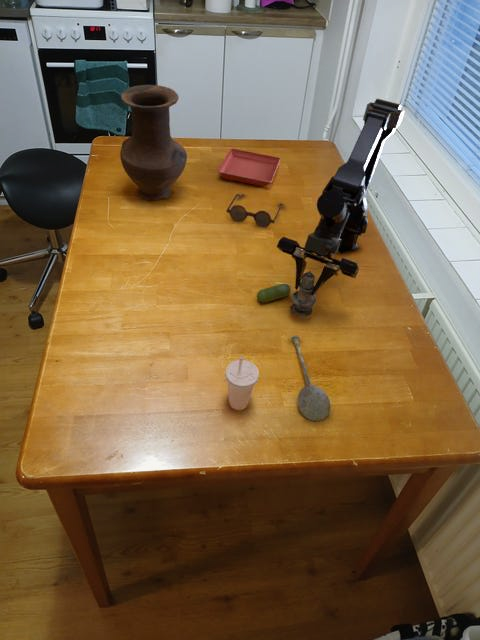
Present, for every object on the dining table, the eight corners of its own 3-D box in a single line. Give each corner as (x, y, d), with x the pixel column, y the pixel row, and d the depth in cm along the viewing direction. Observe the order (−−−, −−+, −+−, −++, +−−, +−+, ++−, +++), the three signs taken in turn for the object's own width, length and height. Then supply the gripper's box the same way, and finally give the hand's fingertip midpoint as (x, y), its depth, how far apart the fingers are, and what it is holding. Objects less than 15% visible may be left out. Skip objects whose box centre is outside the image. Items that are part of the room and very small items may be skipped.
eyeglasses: (225, 219, 145) (226, 204, 141) (240, 194, 155) (241, 180, 152) (273, 230, 143) (275, 215, 139) (284, 205, 153) (286, 190, 149)
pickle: (285, 289, 125) (287, 279, 122) (292, 297, 123) (294, 287, 120) (253, 298, 121) (255, 288, 119) (260, 306, 119) (261, 296, 117)
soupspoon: (299, 424, 97) (331, 423, 98) (303, 415, 94) (335, 414, 96) (280, 340, 112) (308, 339, 113) (283, 330, 109) (311, 330, 110)
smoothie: (221, 389, 101) (225, 344, 91) (252, 389, 101) (259, 344, 91) (223, 416, 96) (227, 371, 86) (255, 415, 97) (263, 371, 87)
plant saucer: (279, 165, 171) (281, 156, 168) (270, 191, 158) (271, 181, 156) (229, 156, 173) (230, 147, 170) (216, 180, 160) (217, 171, 158)
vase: (111, 189, 152) (99, 89, 130) (162, 171, 162) (159, 76, 140) (147, 217, 142) (140, 114, 121) (199, 197, 152) (201, 99, 131)
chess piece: (312, 320, 115) (322, 281, 106) (287, 315, 115) (295, 276, 107) (314, 303, 119) (324, 265, 110) (290, 299, 119) (298, 260, 111)
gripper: (285, 205, 105) (258, 273, 106) (368, 233, 100) (339, 304, 101) (294, 219, 116) (269, 280, 117) (369, 245, 111) (343, 308, 112)
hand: (303, 292), depth 111 cm, fingers closed on chess piece, 3 cm apart
